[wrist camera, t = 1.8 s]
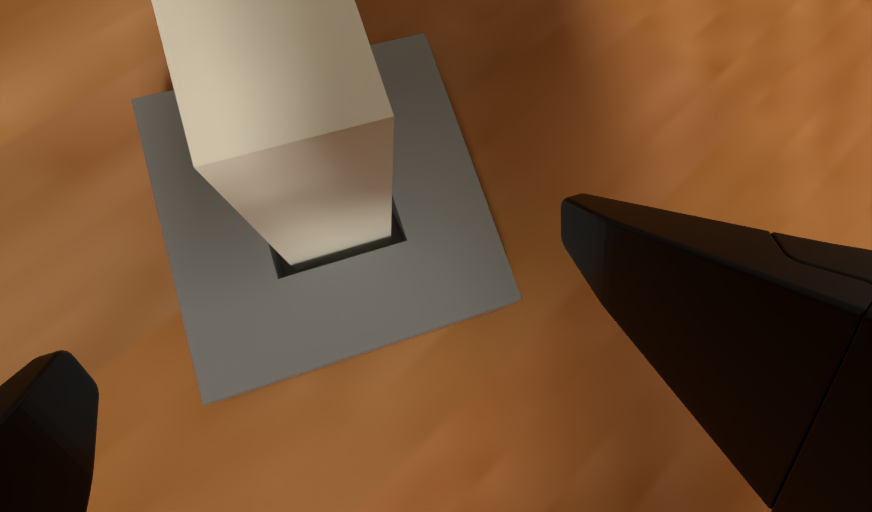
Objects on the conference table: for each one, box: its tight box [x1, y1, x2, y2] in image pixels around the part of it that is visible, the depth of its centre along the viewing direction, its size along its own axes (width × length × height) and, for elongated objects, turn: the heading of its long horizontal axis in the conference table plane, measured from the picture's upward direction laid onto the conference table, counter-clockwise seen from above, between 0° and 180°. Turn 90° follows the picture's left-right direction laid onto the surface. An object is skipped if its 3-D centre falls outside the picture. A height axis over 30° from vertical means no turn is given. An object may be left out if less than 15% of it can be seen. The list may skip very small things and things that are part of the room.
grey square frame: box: [131, 33, 522, 405], centre depth 20 cm, size 12×12×2 cm
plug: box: [151, 0, 394, 272], centre depth 15 cm, size 4×4×11 cm
